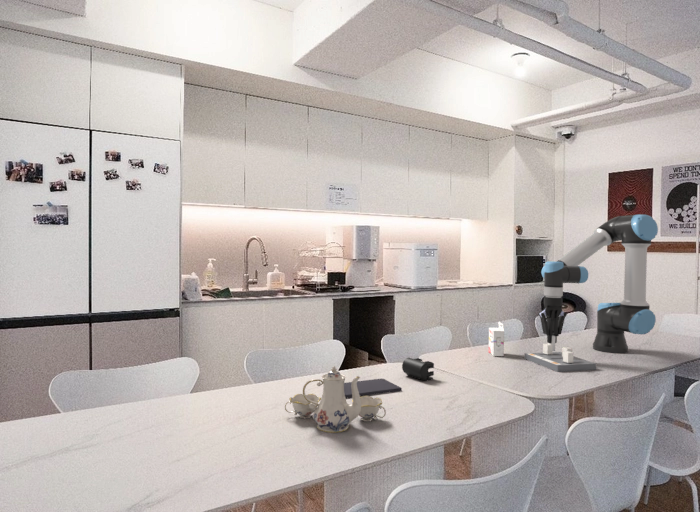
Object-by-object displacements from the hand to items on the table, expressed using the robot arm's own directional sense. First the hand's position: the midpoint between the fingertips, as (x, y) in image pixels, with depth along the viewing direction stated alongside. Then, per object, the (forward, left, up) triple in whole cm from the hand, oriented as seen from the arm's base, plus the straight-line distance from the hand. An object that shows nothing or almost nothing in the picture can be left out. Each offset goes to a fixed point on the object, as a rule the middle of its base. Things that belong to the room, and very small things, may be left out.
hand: (551, 350), depth 209 cm
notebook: (+92, +26, -5) cm, 96 cm away
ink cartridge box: (+19, -14, -4) cm, 24 cm away
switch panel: (+2, +8, -4) cm, 9 cm away
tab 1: (+2, 0, -1) cm, 2 cm away
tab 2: (-2, +8, -1) cm, 8 cm away
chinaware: (+109, +54, -5) cm, 121 cm away
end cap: (+69, +16, -4) cm, 71 cm away
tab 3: (+3, +15, -1) cm, 15 cm away
